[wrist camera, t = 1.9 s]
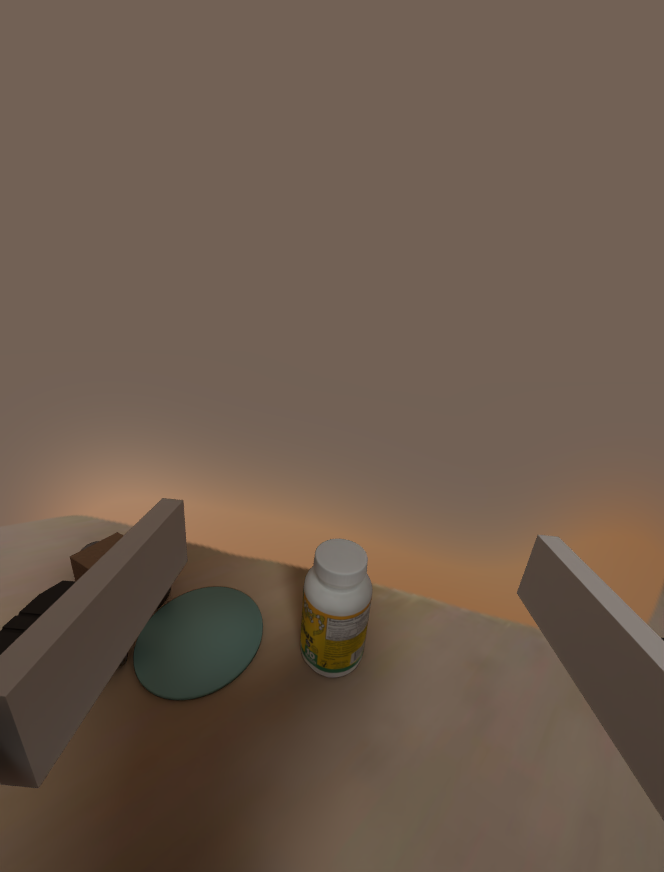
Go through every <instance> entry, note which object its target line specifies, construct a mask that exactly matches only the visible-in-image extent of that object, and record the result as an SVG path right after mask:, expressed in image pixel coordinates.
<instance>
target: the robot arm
mask: <svg viewBox="0 0 664 872" xmlns="http://www.w3.org/2000/svg"><path fill="white" fill-rule="evenodd" d="M186 562H187V547H186V532H185V518H184V503H183V500H176V499H166V498H162V499H161V500H160V501H159V502H158V503H157V504H156V505H155V506H154V507H153V508H152V509H151V510H150V511H149V512H148V513H147V514H146V515H145V516H144V517H143V518H142V519H141V520H140V521H139V522H138V523H136V524H135V525H134V526H133V527H132V528H131V529H130V530H129V531H128V532H127V533H126V534H125V535H124V536H123V537H122V538H121V539H120V540H119V541H118V542H117V543H116V544H115V545H114V546H113V547H112V548H111V549H110V550H109V551H107V552H106V553H105V554H104V555H103V556H102V557H101V558H100V559H99V560H98V561H97V562H96V563H95V564H94V565H93V566H92V567H91V568H90V569H89V570H88V571H87V572H86V573H85V574H84V575H83V576H82V577H81V578H80V579H79V580H77V581H76V582H73V581H61V582H60V583H58V584H56V585H55V586H53V587H51V588H49V589H48V590H46V591H44V592H43V593H41V594H39V595H38V596H37V597H36V598H35V599H34V600H32V601H31V602H30V603H29V604H28V605H27V606H26V607H25V608H23V609H22V610H21V611H20V612H19V615H18V616H15V617H13V618H12V619H11V620H10V621H9V622H8V623H7V624H6V625H4V626H3V627H2V630H1V631H0V784H1V785H10V786H20V787H31V788H39V787H40V785H41V784H42V782H43V781H44V779H45V778H46V776H47V774H48V773H49V771H50V770H51V768H52V767H53V765H54V764H55V762H56V761H57V759H58V758H59V756H60V755H61V753H62V752H63V750H64V749H65V747H66V746H67V744H68V742H69V741H70V739H71V738H72V736H73V735H74V733H75V732H76V730H77V729H78V727H79V726H80V724H81V723H82V721H83V720H84V718H85V717H86V715H87V713H88V712H89V710H90V709H91V707H92V706H93V704H94V703H95V701H96V700H97V698H98V697H99V695H100V694H101V692H102V691H103V689H104V688H105V686H106V684H107V683H108V681H109V680H110V678H111V677H112V675H113V674H114V672H115V671H116V669H117V668H118V666H119V665H120V663H121V662H122V660H123V659H124V657H125V656H126V654H127V652H128V651H129V649H130V648H131V646H132V645H133V643H134V642H135V640H136V639H137V637H138V636H139V634H140V633H141V631H142V630H143V628H144V627H145V625H146V623H147V622H148V620H149V619H150V617H151V616H152V614H153V613H154V611H155V610H156V608H157V607H158V605H159V604H160V602H161V601H162V599H163V598H164V596H165V594H166V593H167V591H168V590H169V588H170V587H171V585H172V584H173V582H174V581H175V579H176V578H177V576H178V575H179V573H180V572H181V570H182V569H183V567H184V566H185V564H186ZM517 594H518V596H519V597H520V599H521V600H522V602H523V603H524V605H525V607H526V608H527V610H528V611H529V613H530V614H531V616H532V617H533V619H534V620H535V622H536V624H537V625H538V627H539V628H540V630H541V631H542V633H543V634H544V636H545V638H546V639H547V641H548V642H549V644H550V645H551V647H552V648H553V650H554V652H555V653H556V655H557V656H558V658H559V659H560V661H561V662H562V664H563V665H564V667H565V669H566V670H567V672H568V673H569V675H570V676H571V678H572V679H573V681H574V682H575V684H576V686H577V687H578V689H579V690H580V692H581V693H582V695H583V696H584V698H585V700H586V701H587V703H588V704H589V706H590V707H591V709H592V710H593V712H594V713H595V715H596V717H597V718H598V720H599V721H600V723H601V724H602V726H603V727H604V729H605V730H606V732H607V734H608V735H609V737H610V738H611V740H612V741H613V743H614V744H615V746H616V748H617V749H618V751H619V752H620V754H621V755H622V757H623V758H624V760H625V761H626V763H627V765H628V766H629V768H630V769H631V771H632V772H633V774H634V775H635V777H636V779H637V780H638V782H639V783H640V785H641V786H642V788H643V789H644V791H645V792H646V794H647V796H648V797H649V799H650V800H651V802H652V803H653V805H654V806H655V808H656V809H657V811H658V813H659V814H660V816H661V817H662V819H663V820H664V638H660V637H659V636H658V635H657V634H656V633H655V632H654V631H653V630H652V629H651V628H650V627H649V626H648V625H647V624H646V623H645V622H644V621H643V620H642V619H641V618H640V617H639V616H638V615H637V614H636V613H635V612H634V611H633V610H632V609H631V608H630V607H629V606H628V605H627V604H626V603H625V602H624V601H623V600H622V599H621V598H620V597H619V596H618V595H617V594H616V593H615V592H614V591H613V590H612V589H611V588H610V587H609V586H608V585H607V584H606V583H605V582H604V581H602V579H601V578H600V577H599V576H598V575H597V574H596V573H595V572H594V571H593V570H591V569H590V568H589V567H588V566H587V565H586V564H585V563H584V562H583V561H582V560H581V559H580V558H579V557H578V556H577V555H576V554H575V553H574V552H573V551H572V550H571V549H570V548H569V547H568V546H567V545H566V544H565V543H564V542H563V541H562V540H561V539H560V538H559V537H555V536H545V535H538V536H537V538H536V541H535V544H534V547H533V549H532V552H531V555H530V558H529V561H528V563H527V566H526V569H525V572H524V575H523V577H522V580H521V583H520V586H519V588H518V591H517Z"/></svg>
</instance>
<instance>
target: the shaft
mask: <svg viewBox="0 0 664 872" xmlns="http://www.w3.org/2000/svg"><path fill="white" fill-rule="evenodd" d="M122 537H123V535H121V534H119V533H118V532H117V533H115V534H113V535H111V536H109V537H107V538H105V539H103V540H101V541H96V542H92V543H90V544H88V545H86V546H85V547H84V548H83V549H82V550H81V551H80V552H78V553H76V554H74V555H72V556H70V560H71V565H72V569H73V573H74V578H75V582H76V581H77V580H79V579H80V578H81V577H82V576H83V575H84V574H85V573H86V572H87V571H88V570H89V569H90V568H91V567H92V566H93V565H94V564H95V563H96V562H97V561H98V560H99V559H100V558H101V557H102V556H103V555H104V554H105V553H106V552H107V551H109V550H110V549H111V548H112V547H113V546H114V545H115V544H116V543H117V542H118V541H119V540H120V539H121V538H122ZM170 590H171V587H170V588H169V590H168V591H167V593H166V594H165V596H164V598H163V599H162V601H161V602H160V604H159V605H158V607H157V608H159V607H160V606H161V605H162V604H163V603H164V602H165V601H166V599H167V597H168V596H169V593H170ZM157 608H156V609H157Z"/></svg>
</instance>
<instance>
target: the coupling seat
mask: <svg viewBox="0 0 664 872" xmlns="http://www.w3.org/2000/svg"><path fill="white" fill-rule="evenodd" d="M262 629H263V623H262V617H261V613H260V610H259V608H258V606H257V605H256V604H255V602H254V601H253V600H252V599H251V598H250V597H249V596H247V595H246V594H244V593H242V592H241V591H238V590H236V589H232V588H227V587H207V588H201V589H197V590H193V591H190V592H188V593H185V594H183V595H181V596H179V597H177V598H175V599H173V600H172V601H170V602H169V603H167V604H166V605H164V606H163V607H162V608H160V609H159V610H158V611H157V612H156V613H155V614H154V615H153V616H152V617H151V618H150V619H149V621H148V622H147V623H146V625H145V627H144V628H143V630H142V631H141V633H140V634H139V637H138V639H137V642H136V645H135V649H134V668H135V672H136V675H137V677H138V679H139V681H140V683H141V684H142V685H143V686H144V687H145V688H146V689H147V690H148V691H149V692H151V693H153V694H154V695H156V696H159V697H162V698H164V699H170V700H189V699H195V698H199V697H203V696H206V695H208V694H211V693H213V692H215V691H217V690H219V689H221V688H223V687H224V686H226V685H227V684H229V683H230V682H232V681H233V680H234V679H235V678H237V677H238V676H239V675H240V674H241V673H242V672H243V671H244V670H245V669H246V667H247V666H248V665H249V664H250V662H251V661H252V659H253V658H254V656H255V654H256V652H257V650H258V648H259V645H260V642H261V638H262Z"/></svg>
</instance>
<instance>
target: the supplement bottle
mask: <svg viewBox="0 0 664 872" xmlns="http://www.w3.org/2000/svg"><path fill="white" fill-rule="evenodd" d="M367 561H368V558H367V554H366V552H365V551H364V549H363V548H362V547H361V546H359V545H358V544H356V543H355V542H352V541H349V540H345V539H330V540H327V541H325V542H323V543H321V544H320V545H319V546H318V547H317V549H316V552H315V558H314V566H313V567H312V568H311V569H310V570H309V571H308V573H307V575H306V578H305V582H304V590H303V607H302V623H301V640H300V647H301V652H302V656H303V658H304V660H305V661H306V663H307V664H308V665H309V666H310V667H311V668H312V669H313V670H314V671H315V672H317V673H318V674H321V675H323V676H326V677H340V676H344V675H347V674H349V673H350V672H351V671H353V670H354V669H355V668H356V667H357V665H358V664H359V662H360V660H361V658H362V655H363V650H364V644H365V638H366V631H367V624H368V618H369V611H370V605H371V598H372V584H371V580H370V578H369V576H368V574H367Z"/></svg>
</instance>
